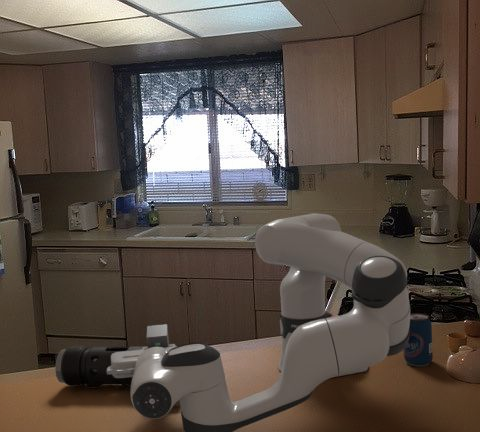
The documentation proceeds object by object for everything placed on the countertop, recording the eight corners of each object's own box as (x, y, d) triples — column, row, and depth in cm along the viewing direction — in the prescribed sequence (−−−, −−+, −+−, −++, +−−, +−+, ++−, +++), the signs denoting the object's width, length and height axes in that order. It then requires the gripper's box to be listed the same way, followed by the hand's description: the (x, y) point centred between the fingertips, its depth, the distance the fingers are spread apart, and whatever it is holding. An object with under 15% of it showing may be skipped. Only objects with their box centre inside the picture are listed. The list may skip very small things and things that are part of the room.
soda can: (399, 364, 146) (397, 317, 145) (411, 355, 152) (409, 311, 150) (426, 369, 142) (424, 321, 141) (437, 360, 147) (435, 314, 146)
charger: (171, 365, 138) (167, 322, 133) (171, 379, 133) (166, 335, 128) (152, 367, 137) (147, 324, 133) (151, 381, 133) (146, 337, 128)
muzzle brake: (167, 394, 137) (163, 352, 136) (55, 395, 142) (51, 354, 140) (177, 379, 147) (173, 339, 146) (72, 380, 151) (68, 341, 150)
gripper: (106, 389, 119) (114, 366, 132) (206, 379, 120) (204, 357, 134) (103, 360, 118) (112, 339, 132) (204, 350, 120) (202, 331, 133)
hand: (159, 348), depth 133 cm, fingers closed on charger, 4 cm apart
